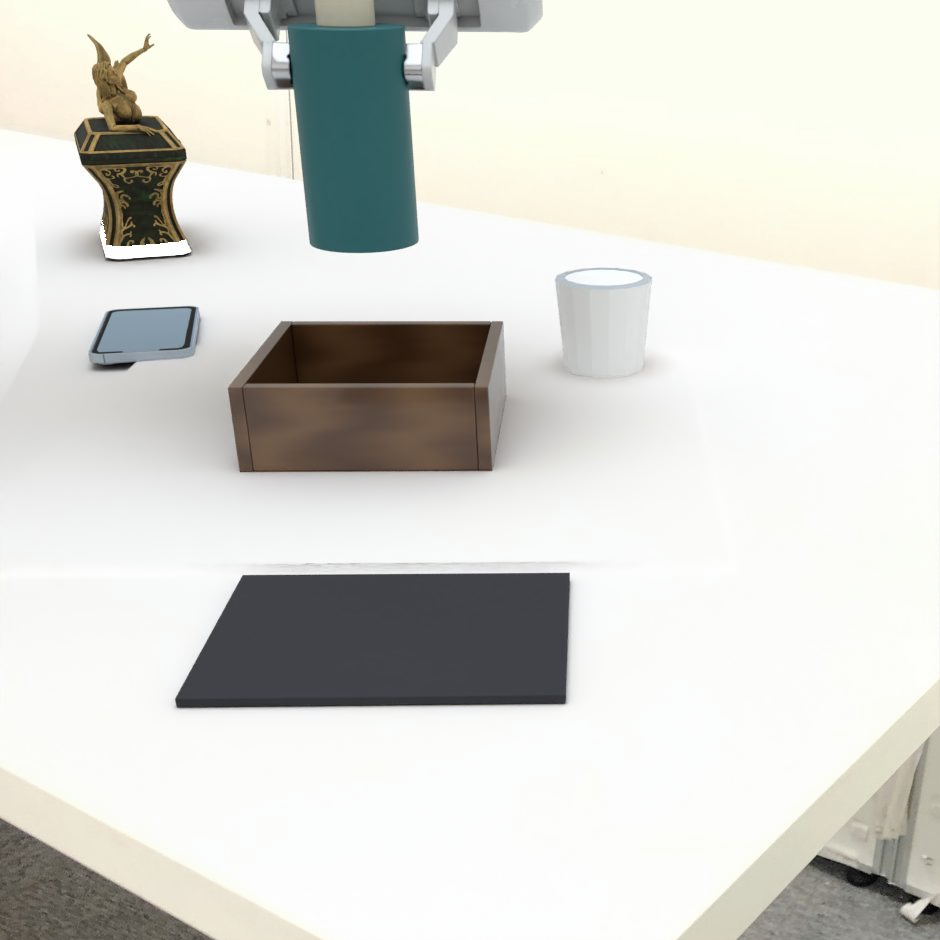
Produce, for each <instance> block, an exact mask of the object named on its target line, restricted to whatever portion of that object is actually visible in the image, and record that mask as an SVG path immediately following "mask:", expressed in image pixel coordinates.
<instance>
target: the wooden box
mask: <svg viewBox="0 0 940 940" xmlns="http://www.w3.org/2000/svg"><path fill="white" fill-rule="evenodd" d="M504 327H505V326H504V321H503V320H492V321H491V320H411V321H410V320H391V321H390V320H356V321H355V320H349V321H347V320H338V321H337V320H335V321H334V320H333V321H330V320H329V321H328V320H317V321H316V320H309V321H307V320H303V321H302V320H301V321H298V320H295V321H294V320H281V321H280V322H279V324H278V325H277V326H276V327H275V328H274V330H273V331H272V332H271V333H270V335H269V336H268V337H267V338H266V339H265V341H264V342H263V343H262V345H261V346H260V347H259V348H258V349H257V351H255V353H254V355H253V356H252V357H251V358H250V359H249V360H248V362H246V364H245V366H243V368H242V369H241V371H240V372H239V373H238V374H237V376H236V377H235V378H234V379H233V380H232V382H231V383H230V384H229V385H228V387H227V392H228V400H229V406H230V413H231V420H232V421H231V422H232V430H233V435H234V442H235V449H236V457H237V464H238V470H239V473H341V472H342V473H344V472H345V473H355V472H356V473H364V472H365V473H371V472H372V473H374V472H375V473H378V472H379V473H380V472H381V473H382V472H384V473H388V472H389V473H390V472H392V473H394V472H395V473H397V472H398V473H400V472H401V473H402V472H403V473H404V472H406V473H411V472H412V473H413V472H417V473H419V472H493V470H494V464H495V459H496V453H497V448H498V443H499V437H500V433H501V428H502V427H501V426H502V422H503V415H504V411H505V410H504V409H505V404H506V399H507V381H506V379H507V376H506V375H507V374H506V353H505V351H506V349H505V329H504Z"/></svg>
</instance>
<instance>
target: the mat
mask: <svg viewBox="0 0 940 940" xmlns="http://www.w3.org/2000/svg"><path fill="white" fill-rule="evenodd" d="M570 587H571V573H570V572H494V573H492V572H484V573H483V572H479V573H478V572H477V573H476V572H475V573H472V572H471V573H469V572H467V573H337V574H336V573H333V574H331V573H330V574H329V573H328V574H322V573H320V574H316V573H315V574H313V573H312V574H242V575H241V577H240V579H239V580H238V583H237V585H236V586H235V588H234V590H233V591H232V593H231V596H230V597H229V599H228V601H227V603H226V604H225V606H224V608H223V610H222V612H221V613H220V616H219V617H218V619H217V620H216V623H215V625H214V627H213V629H212V630H211V632H210V634H209V636H208V638H207V639H206V641H205V643H204V645H203V646H202V649H201V650H200V652H199V654H198V656H197V657H196V660H195V662H194V663H193V665H192V666H191V669H190V671H189V673H188V674H187V676H186V678H185V680H184V682H183V684H182V685H181V687H180V689H179V691H178V693H177V694H176V696H175V698H174V701H175V707H177V708H186V707H187V708H188V707H191V708H192V707H275V706H276V707H280V706H281V707H282V706H283V707H284V706H285V707H287V706H289V707H290V706H293V707H294V706H296V707H297V706H385V705H387V706H388V705H389V706H390V705H397V706H398V704H399V705H470V704H471V705H478V704H479V705H483V704H491V705H493V704H495V705H496V704H497V705H498V704H565V703H566V702H567V677H568V676H567V673H568V650H569V649H568V647H569V645H568V644H569V618H570V617H569V615H570Z"/></svg>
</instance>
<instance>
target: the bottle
mask: <svg viewBox="0 0 940 940" xmlns="http://www.w3.org/2000/svg"><path fill="white" fill-rule="evenodd" d="M314 1H315V12H316V23H304V24H294V25H289V26H288V27H287V30H286V31H287V38H288V39H287V40H288V43H289V49H290V59H291V68H292V78H293V88H294V90H293V96H294V97H293V98H294V105H295V106H294V107H295V115H296V123H297V124H296V125H297V134H298V135H297V136H298V144H299V153H300V163H301V172H302V183H303V193H304V202H305V212H306V221H307V222H306V223H307V230H308V240H309V245H310V246H311V247H312V248H315V249H317V250H321V251H324V252H331V253H342V254H373V253H386V252H394V251H398V250H403V249H407V248H411V247H413V246H415V245H417V244H418V243H419V241H420V236H419V235H420V234H419V221H418V220H419V219H418V204H417V190H416V176H415V160H414V147H413V145H414V144H413V131H412V114H411V113H412V112H411V101H410V99H411V97H410V91H408V89H407V86H406V85H407V81H406V80H405V77H404V60H405V55H404V53H405V44H407V40H406V31H405V27H404V26H403V25H399V24H388V23H375V11H374V0H314Z"/></svg>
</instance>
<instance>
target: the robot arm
mask: <svg viewBox="0 0 940 940" xmlns="http://www.w3.org/2000/svg"><path fill="white" fill-rule="evenodd" d="M166 1H167V3H168V6H169V8H170V10H171V11H172V13H173V14H174V15H175V16H176V18H177V19H178V20H179V21H180V22H181V23H182V24H183V25H184V26H185V28H188V29H189V30H198V31H201V30H203V31H221V30H222V31H249V34H250V36H251V39H252V42H253V44H254V46H255V47H256V49H257V50H258V52H259V53H260V54H261V63H260V64H261V65H260V66H261V73H262V77H263V80H264V83H265V86H266V89H267V90H268V91H289V90H291V91H294V88H293V78H292V68H291V59H290V49H289V42H285V41H283V42H282V41H279V40H280V34H281V31H288V30H287V27H288V26H289V25H294V24H304V23H316V12H315V1H314V0H166ZM543 9H544V5H543V0H374V11H375V23H388V24H399V25H403V26H404V27H405V32H422V33H423V32H425V34H424V36H423V38H421V40H420V41H419V42H417V43H415V42H413V43H412V42H411V43H410V42H409V43H406V44H405V53H404V55H405V60H404V77H405V80H406V81H407V85H406V86H407V89H408V91H409V92H436V83H437V82H436V79H437V68H439V67H440V66H441V65H442V63H443V62H444V61H445V59H447V57H448V56H449V55H450V54H451V52H452V51H453V49H454V48H455V47H457V45H458V39H459V38H458V35H459V33H519V34H520V33H521V34H522V33H528V32H530V31H531V30H532V29H533V28H534V27H535V26H536V25H537V24H538V23H539V22H540V21H541V20H542V18H543V15H544V13H543V12H544V11H543Z"/></svg>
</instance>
